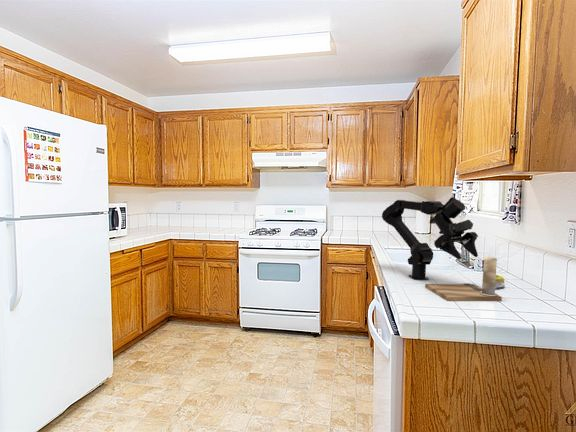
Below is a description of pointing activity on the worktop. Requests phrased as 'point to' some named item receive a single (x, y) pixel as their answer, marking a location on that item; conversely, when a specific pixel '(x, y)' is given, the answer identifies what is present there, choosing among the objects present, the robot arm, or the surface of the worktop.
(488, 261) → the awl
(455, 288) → the subfloor panel
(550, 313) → the worktop surface
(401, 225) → the robot arm
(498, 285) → the knife
